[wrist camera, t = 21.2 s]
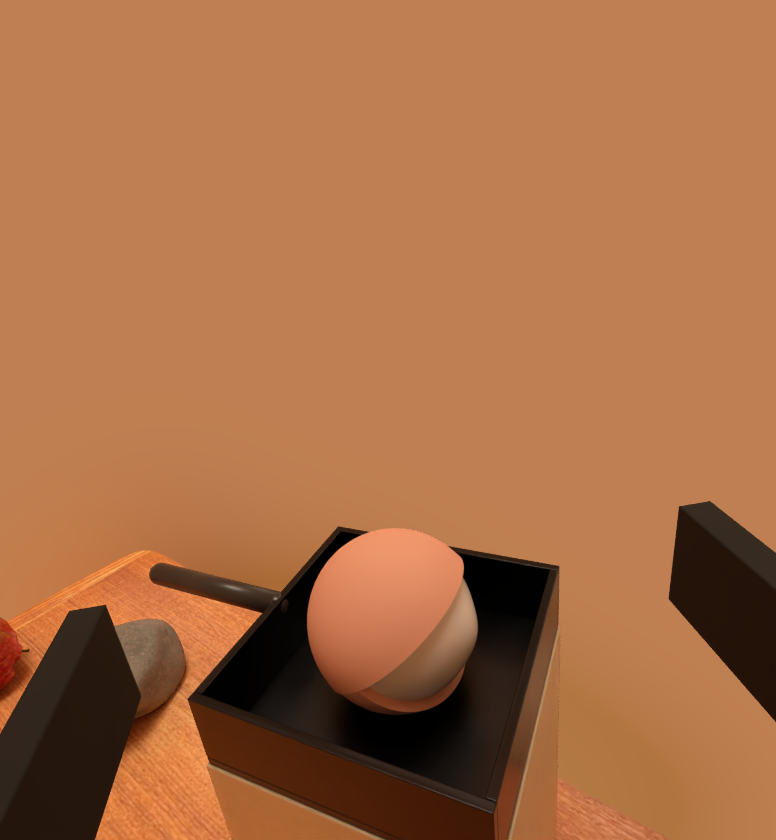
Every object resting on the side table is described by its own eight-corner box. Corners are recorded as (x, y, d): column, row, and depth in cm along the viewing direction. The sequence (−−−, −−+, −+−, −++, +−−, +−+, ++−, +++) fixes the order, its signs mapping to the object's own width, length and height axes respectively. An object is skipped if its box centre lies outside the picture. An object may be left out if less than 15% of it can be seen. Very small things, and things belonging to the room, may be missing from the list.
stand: (555, 846, 37) (560, 626, 30) (510, 1126, 27) (499, 893, 19) (379, 778, 43) (346, 578, 35) (283, 989, 32) (205, 765, 25)
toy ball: (457, 783, 22) (443, 630, 19) (289, 730, 25) (255, 590, 22) (499, 636, 29) (494, 505, 26) (363, 608, 32) (344, 487, 29)
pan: (558, 626, 30) (559, 563, 28) (497, 888, 19) (493, 812, 18) (236, 555, 39) (223, 504, 37) (75, 706, 28) (47, 645, 27)
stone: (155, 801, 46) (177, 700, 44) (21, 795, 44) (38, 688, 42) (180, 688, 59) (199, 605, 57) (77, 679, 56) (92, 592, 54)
